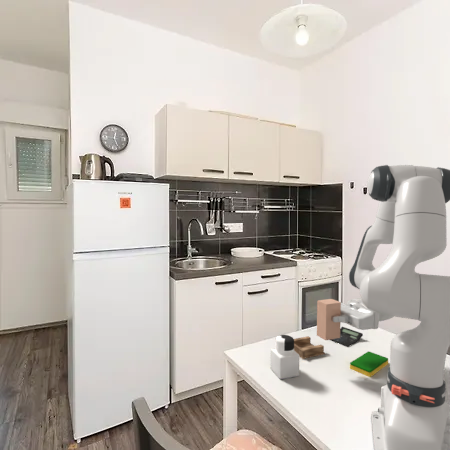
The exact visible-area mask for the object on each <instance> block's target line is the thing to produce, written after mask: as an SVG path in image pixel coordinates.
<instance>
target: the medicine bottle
mask: <svg viewBox="0 0 450 450" xmlns="http://www.w3.org/2000/svg"><path fill="white" fill-rule="evenodd" d="M294 339H295V338H294V337H293V336H290V335H288V334H281V335H280V334H279V335H277V336H276V338H275V347H273V348H270V360H269V361H270V364H269V365H270V370H271V371H272V372H273V373H274V374H275V376H276V377H277V378H278V379H280V380H284V379H289V378H295V377H299V376H300V358H301V357H300V356H299V354H298V353H296V352H295V351H294Z"/></svg>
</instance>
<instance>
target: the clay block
mask: <svg viewBox="0 0 450 450" xmlns="http://www.w3.org/2000/svg"><path fill="white" fill-rule="evenodd" d="M341 303H342V302H341V301H338V300H336V299H333V298H328V299H327V298H326V299H319V300H317V303H316V306H317V307H316V308H317V309H316V336H317V337H319V338H321V339H323V340H324V341H331V339H336V338H340V329H341V322H333V321H331V316H334V315H336V316H341Z"/></svg>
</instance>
